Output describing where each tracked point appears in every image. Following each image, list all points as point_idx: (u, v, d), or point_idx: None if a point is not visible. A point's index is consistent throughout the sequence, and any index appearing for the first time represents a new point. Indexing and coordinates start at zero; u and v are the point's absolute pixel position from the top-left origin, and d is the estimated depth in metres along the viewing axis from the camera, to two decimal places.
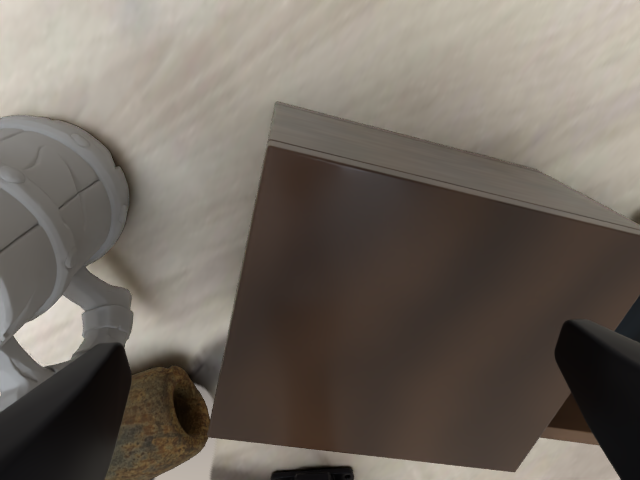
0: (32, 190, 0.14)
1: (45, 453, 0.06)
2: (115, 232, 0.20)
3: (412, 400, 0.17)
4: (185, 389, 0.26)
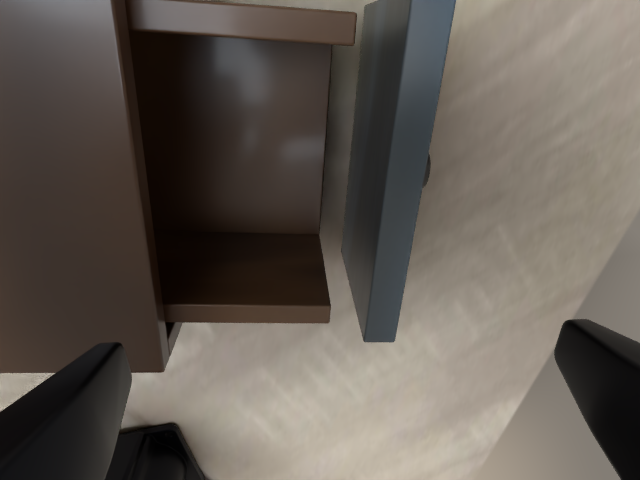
0: None
1: (45, 453, 0.06)
2: None
3: None
4: None
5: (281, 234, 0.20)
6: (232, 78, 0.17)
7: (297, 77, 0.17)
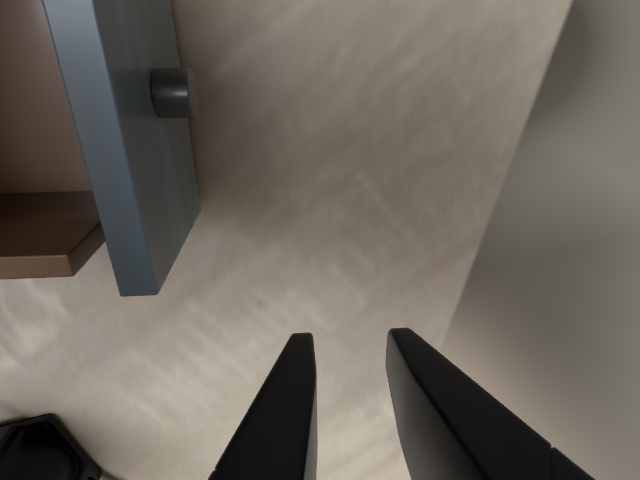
0: None
1: (311, 436, 0.06)
2: None
3: None
4: None
5: (89, 191, 0.18)
6: None
7: None
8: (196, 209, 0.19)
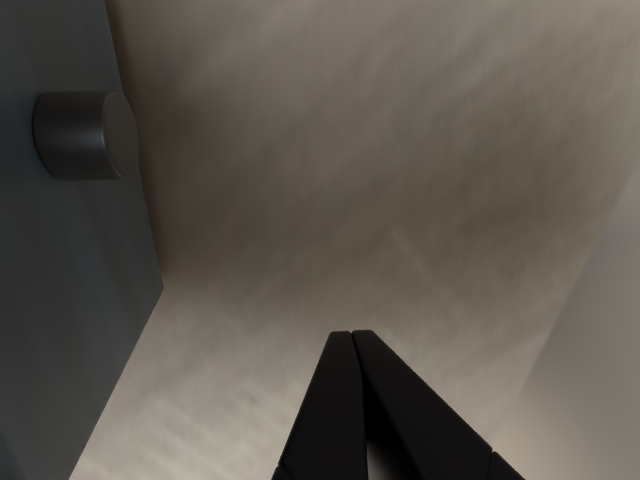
0: None
1: None
2: None
3: None
4: None
5: None
6: None
7: None
8: (154, 294, 0.12)
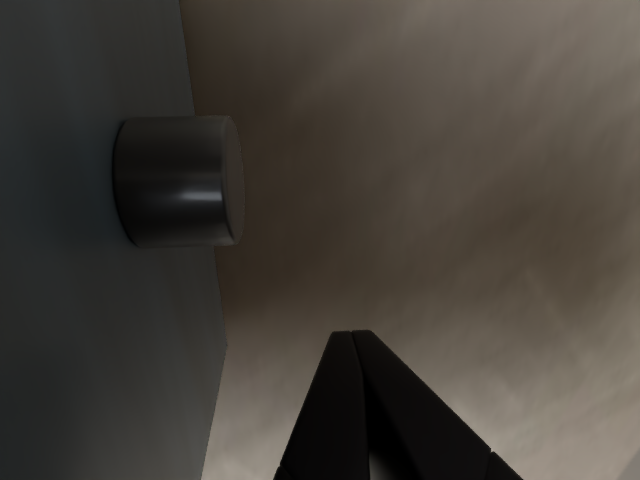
0: None
1: None
2: None
3: None
4: None
5: None
6: None
7: None
8: (221, 358, 0.10)
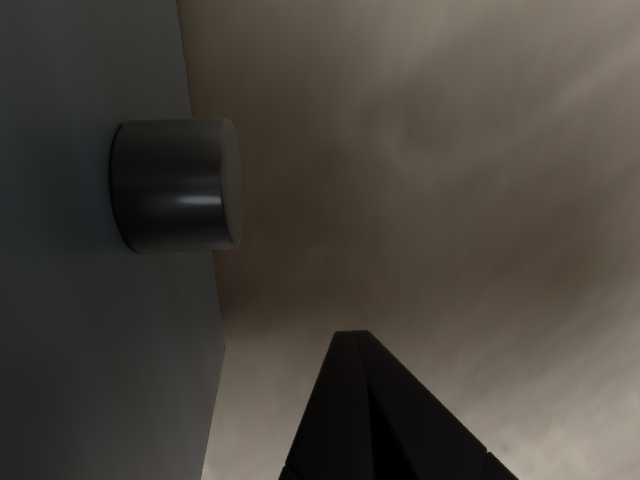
0: None
1: None
2: None
3: None
4: None
5: None
6: None
7: None
8: (219, 361, 0.10)
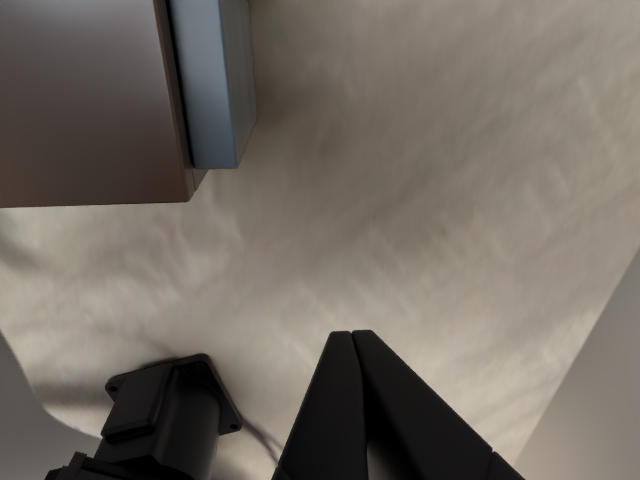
0: None
1: None
2: None
3: None
4: None
5: None
6: None
7: None
8: (255, 113, 0.17)
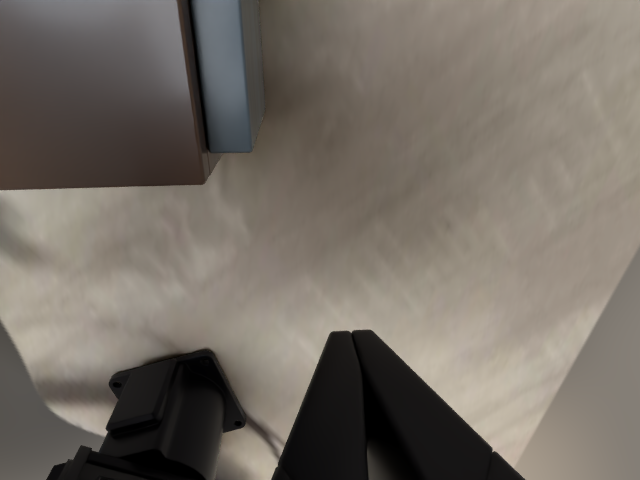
0: None
1: None
2: None
3: None
4: None
5: None
6: None
7: None
8: (264, 104, 0.17)
